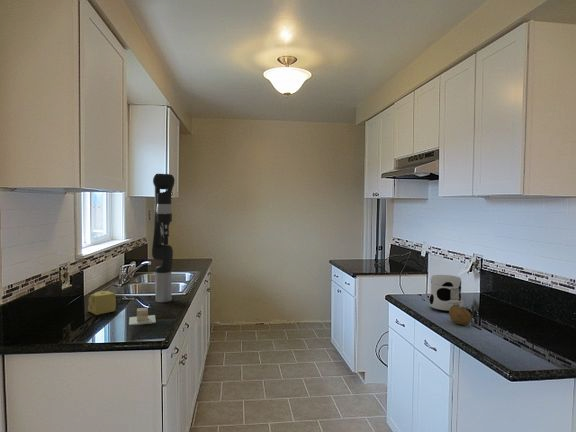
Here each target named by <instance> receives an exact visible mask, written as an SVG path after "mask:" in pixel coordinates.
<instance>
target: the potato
mask: <svg viewBox="0 0 576 432" xmlns="http://www.w3.org/2000/svg"><path fill="white" fill-rule="evenodd" d="M448 316H449V319H450V321H452V322H453V323H455V324H456V325H462V326H466V325H469V324H470V323H471V322H472V318H473V317H472V314H471V313H470V311H469V310H468V309H466V308H463V306H462V307H460V306H452V307H451V308H450V309H449V312H448Z"/></svg>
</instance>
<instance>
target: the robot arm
mask: <svg viewBox="0 0 576 432" xmlns="http://www.w3.org/2000/svg"><path fill="white" fill-rule="evenodd" d="M152 183H153V186H154V187H153V188H154V212H153V213H154V214H153V237H152V246H151V247H152V248H151V256H152V258H153V260H155V261H162V263H161V265H158V266H156V267H155V268H154V278H155V279H154V280H155V281H154V287H155V292H154V294H155V295H154V297H155V302H156V303H168V302H171V301H172V298H173V297H172V296H173V295H172V286H173V285H172V284H173V283H172V281H173V280H172V268H173V258H174V250H173V247H172V246H171V245H170V244H169V236H170V234H169V233H170V224H171V223H172V221H173V209H172V208H173V207H172V193H173V189H174V185H175V177H174V175H173V174H170V173H155V175H154V176H153V178H152ZM161 190H165V191H163V192H161Z"/></svg>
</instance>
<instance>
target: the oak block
mask: <svg viewBox="0 0 576 432" xmlns="http://www.w3.org/2000/svg"><path fill="white" fill-rule="evenodd" d="M148 316H149V308H148V307H141V308H140V307H139V308H136V317H137V321H147V320H148Z"/></svg>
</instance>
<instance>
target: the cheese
mask: <svg viewBox="0 0 576 432" xmlns="http://www.w3.org/2000/svg"><path fill="white" fill-rule="evenodd" d="M87 301H88V306H87V311H88V312H89V313H92V314H93V315H95V316H98V315H103V314H106V313H107V314H108V313H111V312H115V311H116V308H117V307H116V306H117V298H116V294H115V293H114V292H111V291H109V290H101V291H95V292H94V293H93V294H90V296H89V297H88V300H87Z"/></svg>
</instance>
